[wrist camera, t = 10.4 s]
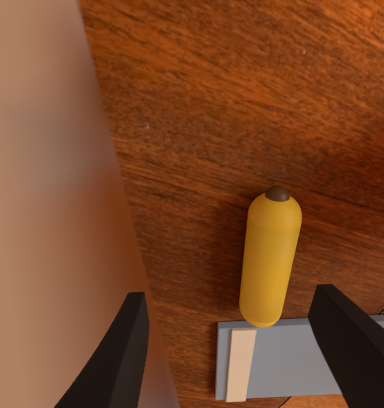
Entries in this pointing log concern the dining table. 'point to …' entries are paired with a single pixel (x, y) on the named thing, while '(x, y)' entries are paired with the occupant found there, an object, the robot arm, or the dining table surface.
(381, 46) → the dining table surface
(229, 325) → the grey flat rectangular block
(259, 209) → the banana
